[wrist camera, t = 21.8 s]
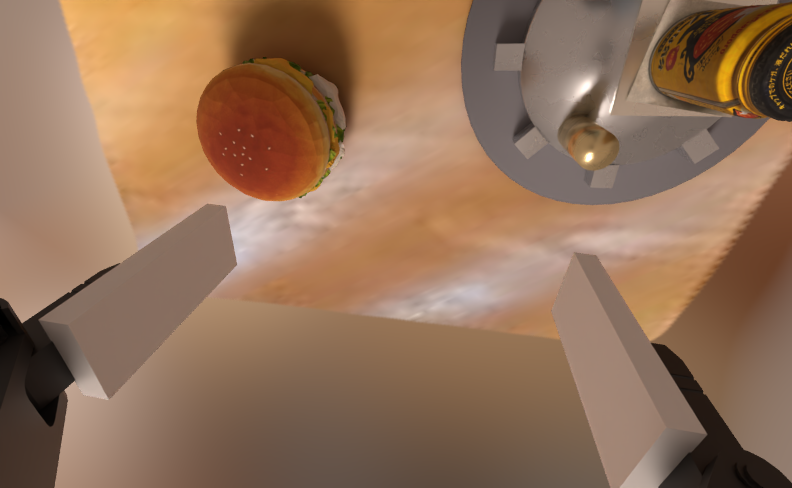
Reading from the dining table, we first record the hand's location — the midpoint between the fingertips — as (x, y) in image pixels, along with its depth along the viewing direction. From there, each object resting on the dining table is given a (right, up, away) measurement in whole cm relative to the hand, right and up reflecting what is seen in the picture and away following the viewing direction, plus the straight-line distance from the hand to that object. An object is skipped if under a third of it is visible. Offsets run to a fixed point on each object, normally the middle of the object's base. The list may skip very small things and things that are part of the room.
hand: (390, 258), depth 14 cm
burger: (-11, +14, +25) cm, 31 cm away
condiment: (+24, +15, +14) cm, 32 cm away
